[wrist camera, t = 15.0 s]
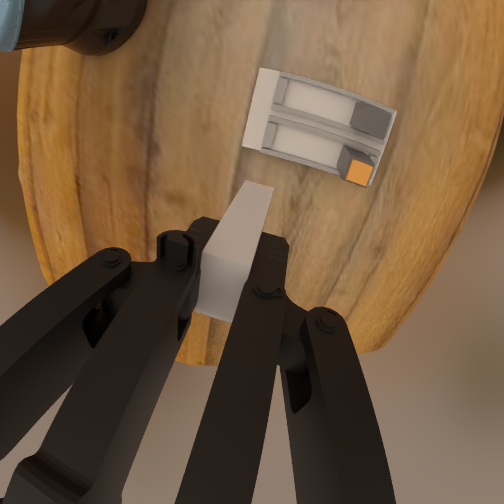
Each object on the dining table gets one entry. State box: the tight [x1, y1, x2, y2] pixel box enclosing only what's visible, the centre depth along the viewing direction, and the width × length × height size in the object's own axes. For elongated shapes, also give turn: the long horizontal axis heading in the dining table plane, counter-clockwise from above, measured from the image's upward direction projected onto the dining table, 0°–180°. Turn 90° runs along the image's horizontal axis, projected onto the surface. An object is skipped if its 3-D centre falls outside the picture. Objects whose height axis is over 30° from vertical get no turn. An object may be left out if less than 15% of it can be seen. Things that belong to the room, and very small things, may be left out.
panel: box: [242, 68, 397, 186], centre depth 29 cm, size 18×11×8 cm, turn 78°
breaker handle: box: [336, 145, 375, 188], centre depth 29 cm, size 3×3×6 cm
